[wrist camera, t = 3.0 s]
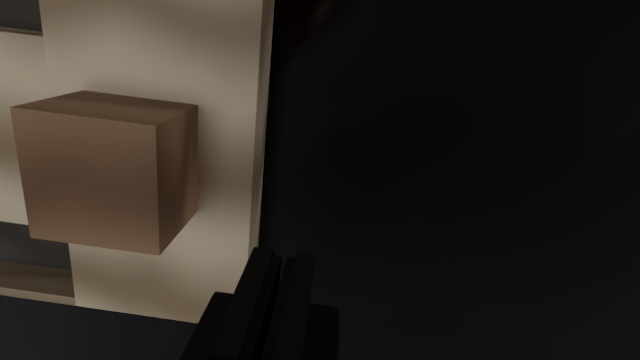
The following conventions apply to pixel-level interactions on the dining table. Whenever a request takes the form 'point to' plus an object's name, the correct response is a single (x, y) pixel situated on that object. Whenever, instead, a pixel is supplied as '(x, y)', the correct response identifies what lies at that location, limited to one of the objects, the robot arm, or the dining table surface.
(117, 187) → the walnut block
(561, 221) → the dining table surface
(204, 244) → the board
